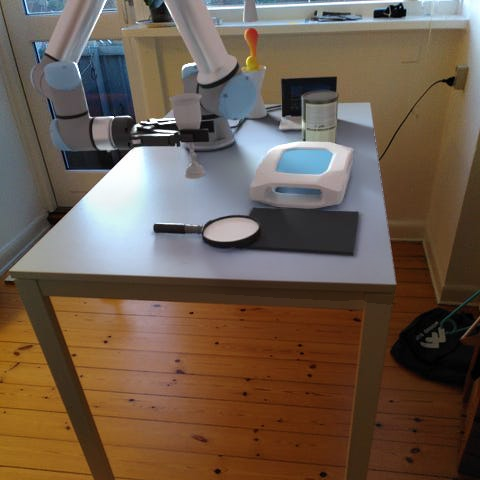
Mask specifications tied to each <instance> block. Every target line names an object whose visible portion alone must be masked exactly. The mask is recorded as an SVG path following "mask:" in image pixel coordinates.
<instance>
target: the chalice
mask: <svg viewBox="0 0 480 480" xmlns="http://www.w3.org/2000/svg"><path fill="white" fill-rule="evenodd" d="M200 98H201V95H200V94H195V93H185V94H184V93H179V94H175V95H172V96H170V97H169V98H168V99H169V101H170V103H171V106H172V114H173V118H174V120H175V123H176V125H177V127H178V129H179V131H180V130H181V129H199V128H200V123H201V110H200ZM188 148H189V149H188ZM188 148H187V149H188V150H189V154H188V156H189V157H190V160H191V161H190V162H191V163H190V164H189V165H187V167H186V170H185V174H184V177H185V178H186V179H189V180H196V179H202V178H203V177H205V176H206V172H205V170H204V168H203V166H202V165H201V164H199V163H198V162H197V161H196V157H197V154H196V152H195V150H194V148H195V146H194V144H193V142H189V147H188Z"/></svg>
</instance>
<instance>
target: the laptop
mask: <svg viewBox="0 0 480 480" xmlns="http://www.w3.org/2000/svg"><path fill="white" fill-rule="evenodd" d="M337 88H338V76H337V75H329V76H328V75H327V76H304V77H303V76H301V77H282V78H280V98H281V99H280V105H281V107H280V108H281V119H280V122H279V126H278V130H279V131H302V99H301V96H302V95H303V94H304V93H307V92H311V91H319V90H327V91H334V92H337V90H338V89H337ZM337 93H338V92H337Z"/></svg>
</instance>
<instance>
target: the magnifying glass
mask: <svg viewBox="0 0 480 480" xmlns="http://www.w3.org/2000/svg"><path fill="white" fill-rule="evenodd" d="M152 228H153V233H155V234H170V235H171V234H173V235H174V234H175V235H186V234H189V235H192V234H194V235H196V234H197V235H201V239H202V241H203V243H204V244H206V245H207V246H209V247H211V248H215V249H221V250H228V249H235V248H238V247H242V246H245V245H248V244H250V243H252V242H253V241H255V240H256V239H257V238H258V237H259V236H260V234H261V226H260V222H259V221H258V220H257V219H255V218H253V217H251V216H249V215H245V214H228V215H223V216H219V217H215V218H214V219H209V220H208V221H206V222H205V223H204V225H203V224H201V225H200V224H197V225H195V224H194V225H193V224H186V223H172V222H171V223H169V222H154V224H153V226H152Z"/></svg>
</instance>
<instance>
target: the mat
mask: <svg viewBox="0 0 480 480" xmlns="http://www.w3.org/2000/svg"><path fill="white" fill-rule="evenodd" d="M359 214H360V212H359V211H356V210H355V211H354V210H329V209H303V208H284V207H257V206H252V208H251V210H250V212H249V214H248V216H251V217H253V218H255V219H257V220H258V221H259V222H260V226H261V234H260V236H259V237H258V238H257V239H256V240H255V241H253V242H252V243H250V244H248V245H245V246H242V247H238V248H234V249H236V250H238V249H239V250H250V251H251V250H253V251H255V250H256V251H267V252H268V251H269V252H270V251H271V252H287V253H303V254H304V253H305V254H320V255H321V254H322V255H337V256H338V255H339V256H353V257H354V253H355V247H356V239H357V230H358V222H359V217H360V216H359Z"/></svg>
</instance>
